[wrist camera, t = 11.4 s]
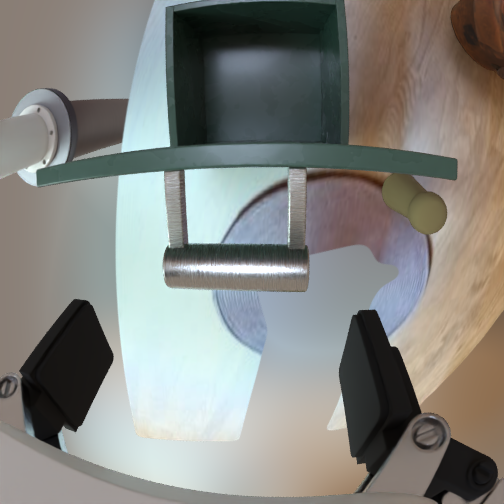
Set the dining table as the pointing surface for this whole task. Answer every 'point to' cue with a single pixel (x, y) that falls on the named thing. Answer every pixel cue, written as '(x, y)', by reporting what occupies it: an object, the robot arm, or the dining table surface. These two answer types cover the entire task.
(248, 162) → the bin lid
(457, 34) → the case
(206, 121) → the waste bin
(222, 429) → the dining table surface
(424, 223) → the olive pawn figure
